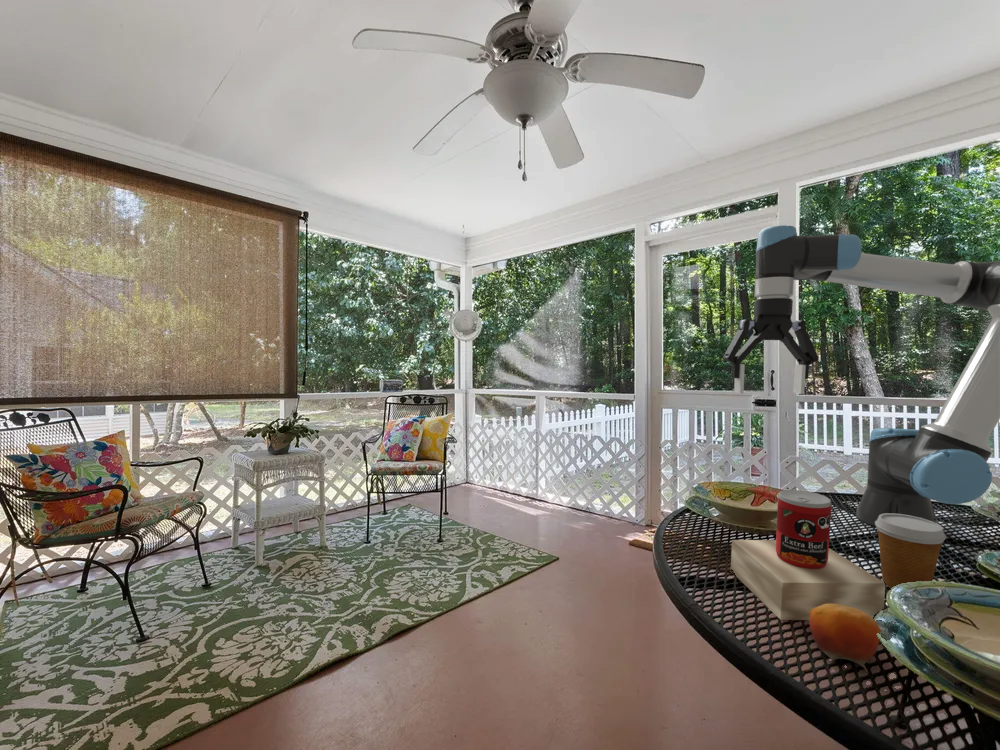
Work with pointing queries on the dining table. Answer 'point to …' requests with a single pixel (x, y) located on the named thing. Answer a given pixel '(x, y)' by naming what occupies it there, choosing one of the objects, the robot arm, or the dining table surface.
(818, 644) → the fruit
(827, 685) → the dining table surface
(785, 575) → the birch block
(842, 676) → the dining table surface
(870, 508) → the robot arm
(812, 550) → the canned food
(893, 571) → the disposable coffee cup
